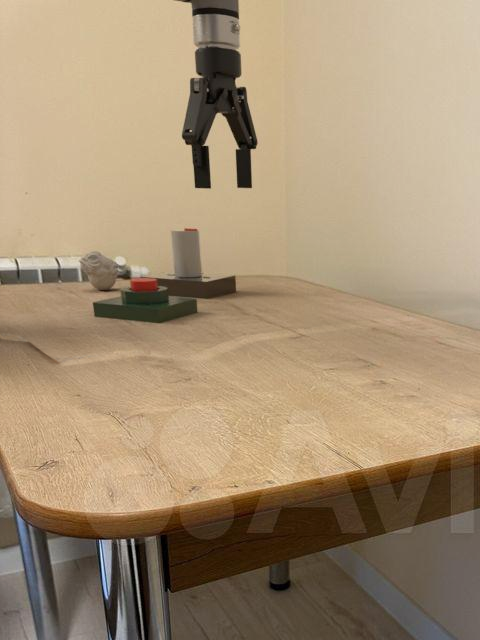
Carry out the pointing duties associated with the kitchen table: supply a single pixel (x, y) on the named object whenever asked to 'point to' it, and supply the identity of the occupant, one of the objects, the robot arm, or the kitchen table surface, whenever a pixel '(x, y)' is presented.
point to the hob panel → (196, 284)
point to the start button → (144, 284)
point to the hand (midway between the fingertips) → (224, 188)
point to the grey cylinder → (186, 252)
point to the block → (145, 306)
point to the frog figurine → (99, 270)
